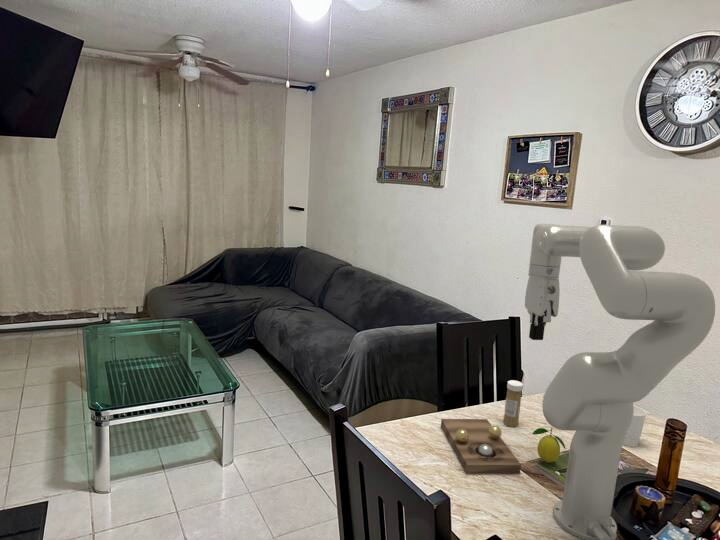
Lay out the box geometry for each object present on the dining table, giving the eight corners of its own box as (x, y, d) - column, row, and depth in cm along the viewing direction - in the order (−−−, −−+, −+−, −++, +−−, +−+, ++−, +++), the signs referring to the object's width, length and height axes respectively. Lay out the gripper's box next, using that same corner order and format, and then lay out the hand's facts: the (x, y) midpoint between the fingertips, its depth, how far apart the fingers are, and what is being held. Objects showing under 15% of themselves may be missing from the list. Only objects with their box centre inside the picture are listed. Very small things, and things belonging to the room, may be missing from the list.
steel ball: (497, 460, 126) (493, 446, 126) (482, 465, 126) (479, 451, 125) (490, 453, 130) (487, 439, 130) (476, 457, 130) (473, 444, 129)
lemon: (528, 457, 130) (533, 422, 129) (546, 454, 132) (550, 420, 131) (546, 471, 124) (551, 435, 123) (564, 467, 126) (569, 432, 125)
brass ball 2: (502, 441, 133) (504, 429, 132) (490, 441, 133) (491, 429, 132) (497, 434, 136) (499, 423, 136) (485, 434, 136) (487, 423, 135)
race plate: (520, 473, 122) (521, 464, 122) (466, 474, 121) (467, 464, 120) (486, 426, 146) (486, 419, 145) (440, 426, 144) (441, 418, 144)
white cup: (610, 443, 141) (615, 410, 139) (610, 431, 148) (615, 401, 146) (641, 451, 137) (646, 418, 135) (640, 439, 144) (645, 407, 142)
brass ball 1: (469, 445, 130) (471, 433, 129) (457, 445, 129) (458, 433, 129) (465, 438, 133) (466, 426, 133) (453, 438, 133) (454, 426, 132)
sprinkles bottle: (521, 425, 148) (526, 384, 146) (511, 428, 146) (516, 386, 143) (509, 419, 152) (514, 378, 150) (499, 422, 149) (504, 381, 147)
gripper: (573, 277, 120) (563, 348, 123) (543, 267, 134) (535, 331, 137) (544, 276, 119) (535, 347, 122) (517, 266, 133) (510, 330, 136)
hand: (535, 338), depth 129 cm, fingers closed
